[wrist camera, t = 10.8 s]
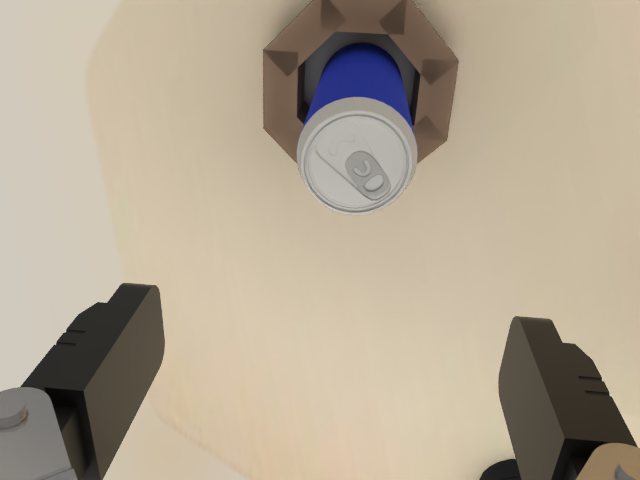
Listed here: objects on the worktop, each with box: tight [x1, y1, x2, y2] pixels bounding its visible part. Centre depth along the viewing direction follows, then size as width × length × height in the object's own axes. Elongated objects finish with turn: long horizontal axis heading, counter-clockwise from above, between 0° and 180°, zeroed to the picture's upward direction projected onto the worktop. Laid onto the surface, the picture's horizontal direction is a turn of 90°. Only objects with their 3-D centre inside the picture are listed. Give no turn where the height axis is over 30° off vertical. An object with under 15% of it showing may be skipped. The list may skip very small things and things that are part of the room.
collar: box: [263, 0, 459, 164], centre depth 36 cm, size 11×11×5 cm
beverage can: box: [297, 43, 418, 215], centre depth 30 cm, size 5×5×15 cm
